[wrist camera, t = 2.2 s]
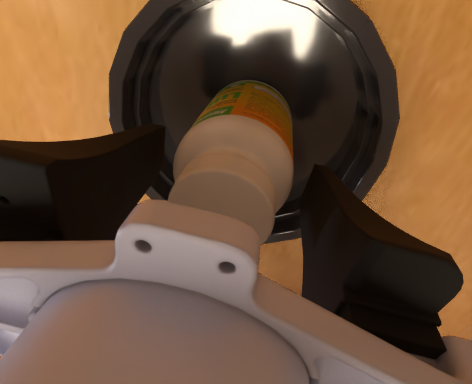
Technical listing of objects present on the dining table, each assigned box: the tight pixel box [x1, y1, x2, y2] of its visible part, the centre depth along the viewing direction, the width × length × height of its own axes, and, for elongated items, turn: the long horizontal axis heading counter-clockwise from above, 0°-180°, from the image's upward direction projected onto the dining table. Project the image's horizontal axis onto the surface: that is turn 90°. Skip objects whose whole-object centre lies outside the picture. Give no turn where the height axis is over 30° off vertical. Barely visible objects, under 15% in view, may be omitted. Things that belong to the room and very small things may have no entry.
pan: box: [109, 0, 400, 244], centre depth 17 cm, size 16×16×3 cm
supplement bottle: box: [168, 80, 294, 246], centre depth 14 cm, size 5×5×10 cm
